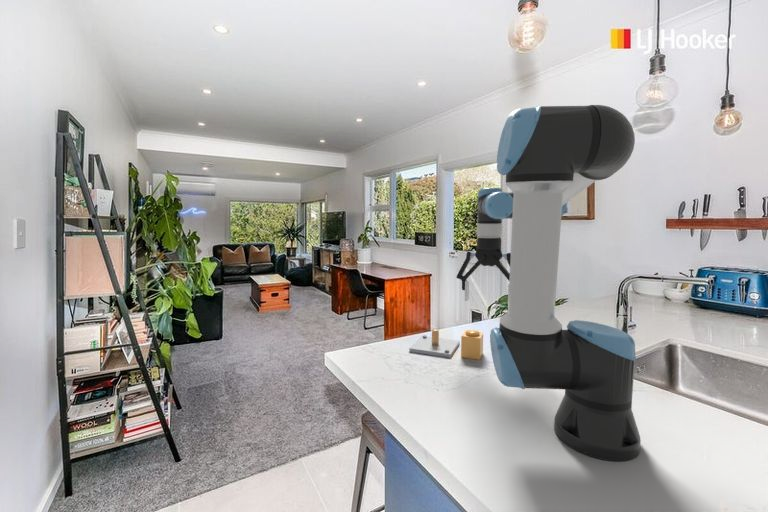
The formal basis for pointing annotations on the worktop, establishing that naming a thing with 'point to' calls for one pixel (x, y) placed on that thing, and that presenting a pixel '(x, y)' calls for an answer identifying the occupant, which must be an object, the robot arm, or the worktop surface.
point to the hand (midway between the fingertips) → (487, 301)
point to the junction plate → (435, 345)
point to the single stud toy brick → (472, 344)
